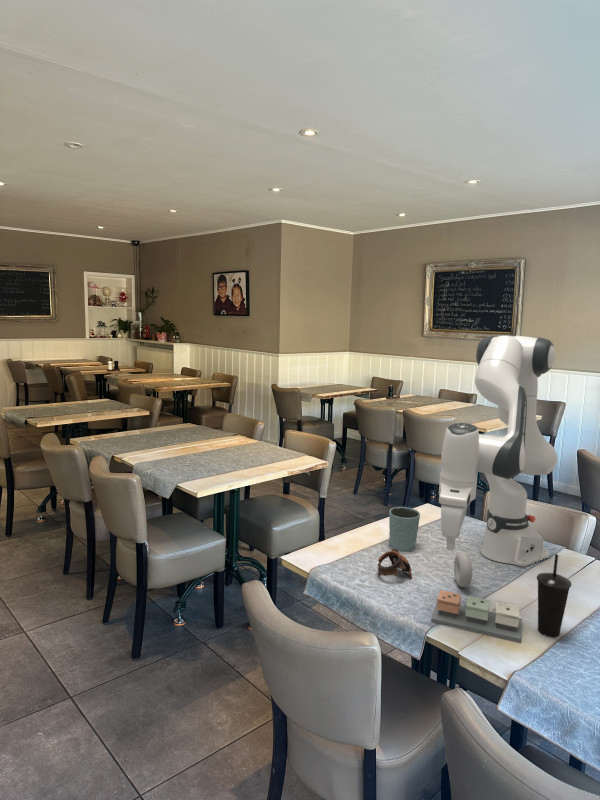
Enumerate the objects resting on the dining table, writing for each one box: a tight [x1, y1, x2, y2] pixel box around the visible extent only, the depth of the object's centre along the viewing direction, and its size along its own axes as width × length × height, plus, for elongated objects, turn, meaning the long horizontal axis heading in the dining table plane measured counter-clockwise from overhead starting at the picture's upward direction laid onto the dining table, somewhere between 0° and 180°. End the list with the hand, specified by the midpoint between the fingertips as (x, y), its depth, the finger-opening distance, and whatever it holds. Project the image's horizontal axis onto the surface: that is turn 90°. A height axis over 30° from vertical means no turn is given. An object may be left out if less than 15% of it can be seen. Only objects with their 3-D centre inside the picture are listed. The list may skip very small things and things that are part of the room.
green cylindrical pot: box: [388, 506, 421, 552], centre depth 184 cm, size 10×10×12 cm
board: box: [430, 602, 523, 644], centre depth 139 cm, size 21×10×2 cm, turn 68°
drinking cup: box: [536, 553, 572, 639], centre depth 135 cm, size 8×8×20 cm
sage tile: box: [465, 595, 491, 621], centre depth 139 cm, size 5×5×3 cm
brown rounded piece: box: [377, 549, 413, 580], centre depth 164 cm, size 12×10×8 cm
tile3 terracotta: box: [436, 589, 462, 614], centre depth 141 cm, size 5×5×3 cm
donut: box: [453, 550, 473, 589], centre depth 158 cm, size 10×4×10 cm, turn 178°
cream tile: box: [495, 601, 520, 628], centre depth 136 cm, size 5×5×3 cm
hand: (453, 542), depth 139 cm, fingers open, 8 cm apart
